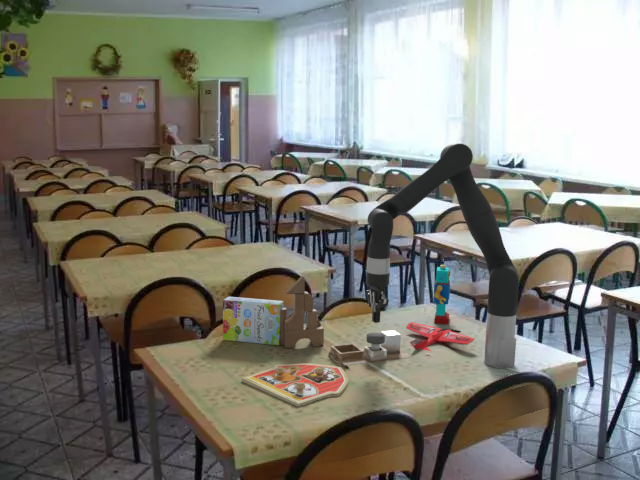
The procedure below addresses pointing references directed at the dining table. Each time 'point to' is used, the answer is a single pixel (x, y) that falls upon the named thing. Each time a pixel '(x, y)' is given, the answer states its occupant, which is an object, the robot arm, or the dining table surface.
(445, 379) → the dining table surface
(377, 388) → the dining table surface
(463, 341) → the toy airplane
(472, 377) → the dining table surface
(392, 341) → the white block
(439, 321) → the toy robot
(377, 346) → the gray push button
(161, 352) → the dining table surface
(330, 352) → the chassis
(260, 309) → the snack box
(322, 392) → the knob puzzle
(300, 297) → the wooden toy
